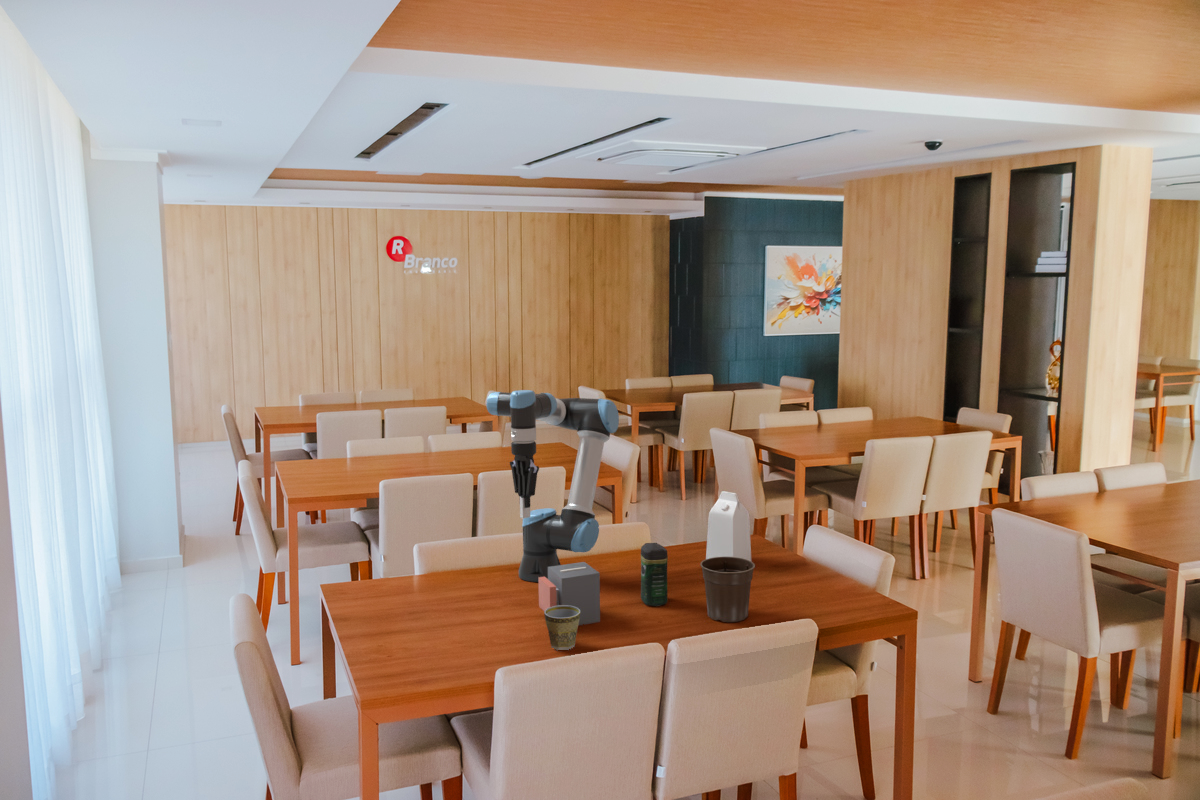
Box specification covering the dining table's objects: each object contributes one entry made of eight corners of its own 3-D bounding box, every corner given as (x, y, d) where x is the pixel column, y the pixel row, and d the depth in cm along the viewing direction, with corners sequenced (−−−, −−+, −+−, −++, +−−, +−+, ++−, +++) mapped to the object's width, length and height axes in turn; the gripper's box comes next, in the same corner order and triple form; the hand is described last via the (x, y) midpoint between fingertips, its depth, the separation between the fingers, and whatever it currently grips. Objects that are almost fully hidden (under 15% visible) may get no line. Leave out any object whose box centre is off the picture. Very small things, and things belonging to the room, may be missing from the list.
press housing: (562, 628, 248) (561, 577, 246) (548, 614, 259) (547, 565, 257) (600, 621, 253) (599, 572, 251) (584, 608, 264) (584, 560, 262)
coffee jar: (670, 605, 265) (670, 548, 263) (646, 608, 264) (645, 550, 262) (661, 595, 275) (661, 539, 273) (638, 597, 273) (637, 541, 271)
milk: (751, 562, 309) (752, 492, 306) (733, 569, 301) (733, 497, 298) (724, 555, 317) (724, 487, 314) (705, 562, 309) (706, 492, 306)
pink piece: (550, 617, 247) (549, 587, 246) (538, 606, 256) (538, 577, 255) (594, 610, 253) (594, 580, 252) (581, 599, 262) (581, 571, 261)
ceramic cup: (581, 652, 231) (581, 617, 230) (545, 654, 230) (544, 618, 229) (579, 634, 244) (578, 600, 242) (544, 635, 243) (543, 602, 242)
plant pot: (690, 610, 261) (690, 559, 259) (736, 603, 267) (736, 553, 265) (717, 629, 246) (717, 575, 244) (764, 620, 252) (765, 568, 250)
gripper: (501, 440, 260) (503, 515, 263) (525, 445, 250) (526, 523, 253) (522, 437, 265) (523, 511, 267) (546, 442, 254) (547, 519, 257)
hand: (525, 517), depth 260 cm, fingers closed
